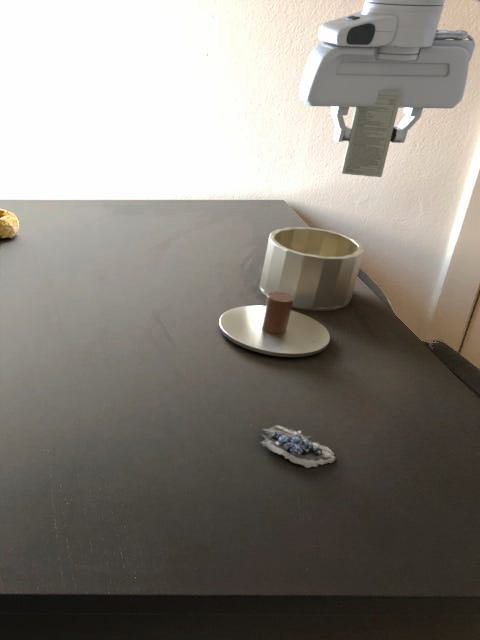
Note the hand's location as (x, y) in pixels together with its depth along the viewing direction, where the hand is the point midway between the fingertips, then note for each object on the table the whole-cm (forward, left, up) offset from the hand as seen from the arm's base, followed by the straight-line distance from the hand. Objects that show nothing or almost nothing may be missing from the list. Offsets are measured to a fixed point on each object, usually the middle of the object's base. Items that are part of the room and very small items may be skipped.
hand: (367, 141), depth 99 cm
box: (0, 0, -4) cm, 4 cm away
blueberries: (+17, +35, -25) cm, 46 cm away
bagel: (+51, -33, -25) cm, 66 cm away
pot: (+1, -7, -25) cm, 26 cm away
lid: (+11, +8, -25) cm, 28 cm away
